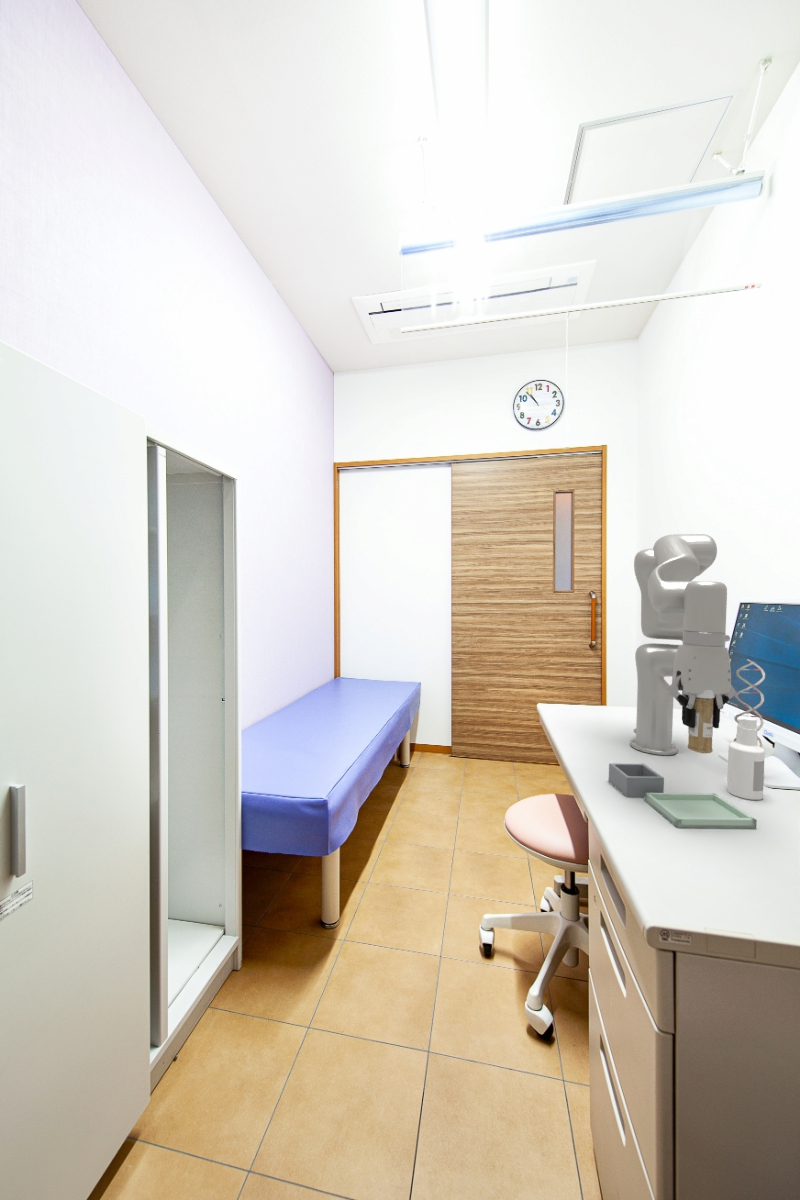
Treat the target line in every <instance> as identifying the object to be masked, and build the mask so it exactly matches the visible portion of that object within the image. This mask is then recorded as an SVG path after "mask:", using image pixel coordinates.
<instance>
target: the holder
mask: <svg viewBox="0 0 800 1200" xmlns="http://www.w3.org/2000/svg"><path fill="white" fill-rule="evenodd" d="M608 782H609V783H610V784H611V785H612V787H614V786H615V787H616V788H615V787H614V788H615V789H616V790H618V791H619V793H621V792H622V793H623V794H624V795H623V794H622V793H621V794H622V795H623V796H624V797H626V798H645V793H665V777H664V776H662V775H660V774H659V773H657V772H656V771H655V770H653V769H652V768H650V767H649V766H648V765H646V764H645V763H615V762H613V763H610V762H609V764H608Z"/></svg>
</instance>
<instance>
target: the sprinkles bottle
mask: <svg viewBox="0 0 800 1200" xmlns="http://www.w3.org/2000/svg"><path fill="white" fill-rule="evenodd" d="M714 697H715V695H714V694H713V691H712V690H706V691H704V693H703V694H699V695H696V697H695V701H694V705H693V709H695V710H696V717H695V727H694V728H690V727H688V726H687V727H688V728H687V729H688V730H687V731H688V744H687V746H686V747H687V749H688V750H689V751H692V752H694V753H698V754H699V753H700V754H711V753H713V734H714V731H713V730H714V727H713V700H714V699H713V698H714Z"/></svg>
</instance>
